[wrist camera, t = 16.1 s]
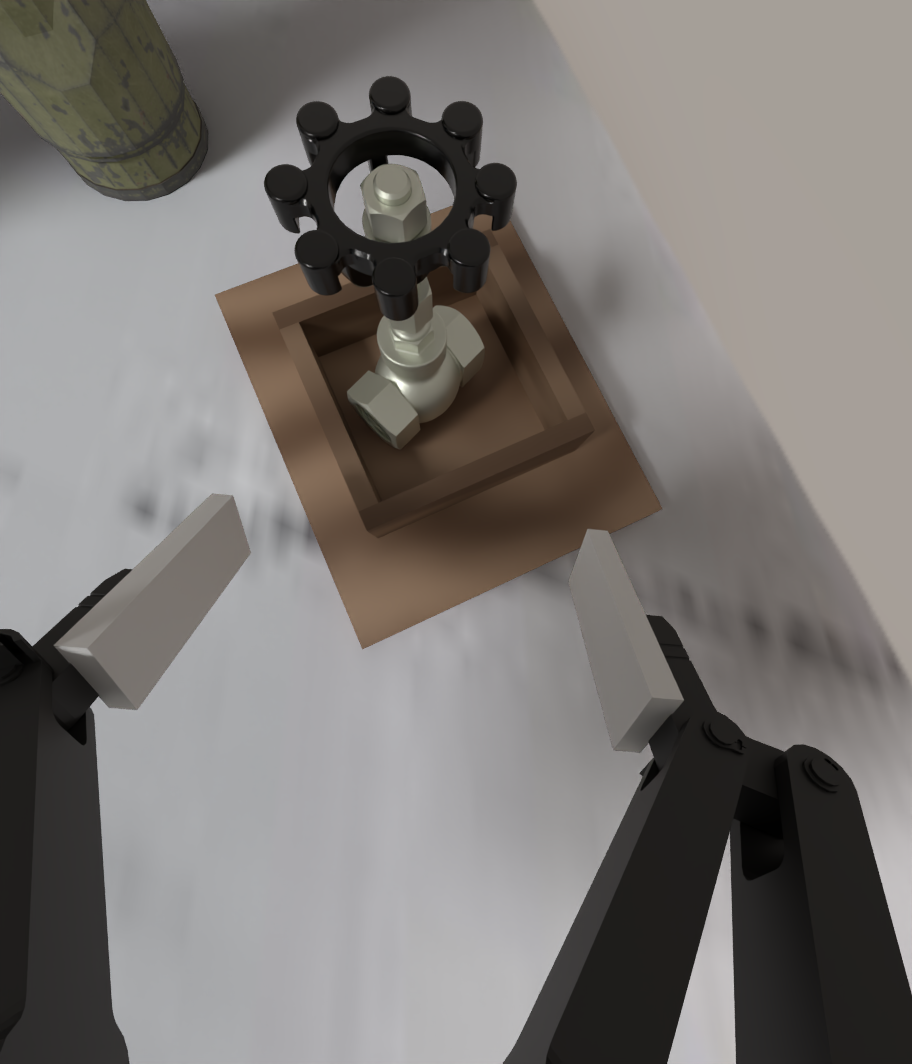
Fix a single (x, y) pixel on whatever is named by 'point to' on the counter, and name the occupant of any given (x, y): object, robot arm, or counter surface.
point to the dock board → (437, 440)
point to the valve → (398, 244)
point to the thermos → (102, 93)
